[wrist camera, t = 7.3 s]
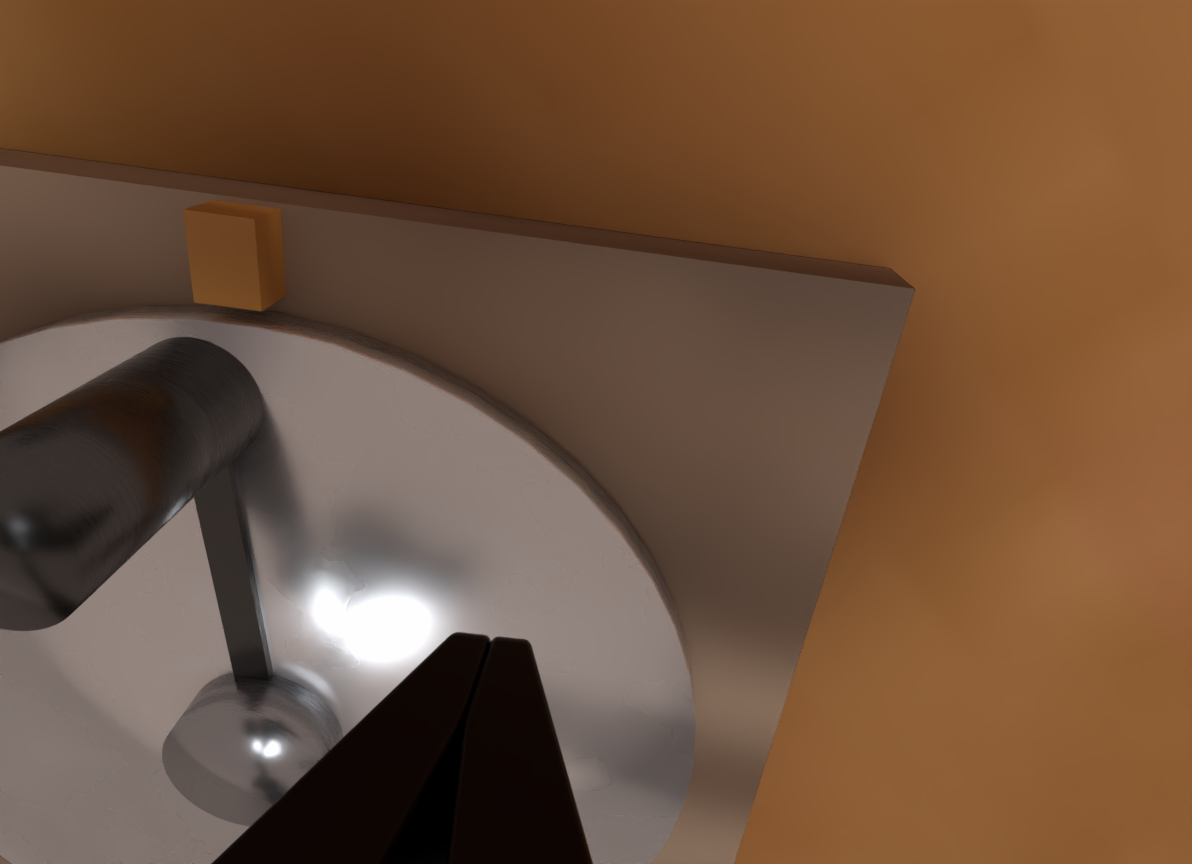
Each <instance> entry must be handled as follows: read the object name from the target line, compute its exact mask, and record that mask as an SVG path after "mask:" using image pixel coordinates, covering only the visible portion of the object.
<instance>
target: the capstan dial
mask: <svg viewBox="0 0 1192 864" xmlns="http://www.w3.org/2000/svg"><path fill="white" fill-rule="evenodd" d="M455 632H465V633H474V634H483V635H487V636H488V637H489V638H490V639H491V641H492V640H493V638H495V637H497V636H502V637H511V638H520V639H526V640H528V641H529V642H530V643H531V645H532V649H533V652H534V656H535V659H536V663H537V666H538V670H539V674H540V677H541V681H542V684H543V688H544V691H545V695H546V698H547V702H548V705H549V709H550V712H551V716H552V720H553V723H554V727H555V730H556V734H557V737H558V741H559V744H560V748H561V751H562V755H563V759H564V762H565V766H566V769H567V773H568V776H569V780H570V783H571V787H572V790H573V794H574V798H575V801H576V805H577V808H578V812H579V815H580V819H581V822H582V826H583V829H584V833H585V837H586V840H587V844H588V847H589V851H590V854H591V858H592V861H593V864H651V863H652V862H653V860H654V859H655V857H656V856H657V854H658V853H659V851H660V850H661V848H662V847H663V845H664V844H665V842H666V841H667V840H668V838H669V836H670V834H671V832H672V830H673V827H674V825H675V823H676V821H677V818H678V816H679V814H680V812H681V809H682V807H683V805H684V803H685V799H686V794H687V790H688V786H689V782H690V778H691V773H692V769H693V765H694V749H695V729H696V718H695V705H694V692H693V683H692V676H691V668H690V660H689V652H688V646H687V642H686V639H685V636H684V632H683V629H682V626H681V623H680V619H679V616H678V613H677V609H676V606H675V603H674V600H673V598H672V596H671V594H670V592H669V590H668V588H667V586H666V584H665V582H664V580H663V578H662V576H661V573H660V571H659V569H658V567H657V565H656V563H655V561H654V559H653V557H652V555H651V554H650V552H649V551H648V549H647V548H646V546H645V545H644V543H643V542H642V540H641V539H640V537H639V536H638V535H637V533H636V532H635V530H634V529H633V527H632V526H631V524H630V523H629V521H628V520H627V518H626V517H625V515H624V514H623V512H622V511H621V510H620V508H619V507H618V506H617V505H616V504H615V503H614V502H613V501H612V500H611V498H610V497H609V496H608V495H607V494H606V493H605V492H604V491H603V490H602V488H601V487H600V486H599V485H598V484H597V483H596V482H595V481H594V480H593V478H592V477H591V476H590V475H589V474H588V473H587V472H586V471H585V469H584V468H583V467H582V466H581V465H580V464H579V463H577V462H576V461H575V460H574V459H573V458H572V457H570V456H569V455H568V454H567V453H566V452H565V451H564V450H562V449H561V448H560V447H559V446H558V445H557V444H555V443H554V442H553V441H552V440H551V439H550V438H549V437H547V436H546V435H545V434H544V433H543V432H542V431H540V430H539V429H538V428H537V427H536V426H535V425H533V424H532V423H531V422H529V421H528V420H526V419H525V418H523V417H522V416H520V415H519V414H517V413H516V412H514V411H513V410H511V409H510V408H508V407H507V406H505V405H504V404H502V403H501V402H499V401H498V400H496V399H495V398H494V397H492V396H491V395H489V394H488V393H486V392H485V391H483V390H482V389H480V388H479V387H477V386H475V385H473V384H471V383H469V382H467V381H465V380H463V379H462V378H460V377H458V376H456V375H454V374H452V373H450V372H448V371H446V370H444V369H442V368H440V367H438V366H436V365H434V364H432V363H431V362H429V361H427V360H425V359H423V358H421V357H419V356H417V355H415V354H412V353H409V352H407V351H404V350H401V349H399V348H396V347H393V346H391V345H388V344H385V343H383V342H380V341H378V340H375V339H372V338H370V337H367V336H364V335H362V334H359V333H356V332H354V331H351V330H348V329H344V328H340V327H336V326H332V325H327V324H323V323H319V322H315V321H311V320H307V319H303V318H299V317H295V316H291V315H287V314H283V313H277V312H269V311H255V310H247V309H240V308H232V307H225V306H218V305H142V306H135V307H128V308H121V309H114V310H107V311H100V312H93V313H86V314H82V315H79V316H75V317H72V318H69V319H65V320H62V321H59V322H55V323H52V324H49V325H46V326H42V327H39V328H36V329H32V330H29V331H26V332H24V333H22V334H19V335H17V336H15V337H12V338H10V339H8V340H5V341H3V342H1V343H0V855H1V856H2V857H4V858H5V859H6V860H8V861H9V862H10V863H12V864H211V863H212V862H213V861H214V860H216V859H217V858H218V857H219V856H220V855H221V854H222V853H223V852H224V851H225V850H226V849H227V848H228V847H229V846H230V845H231V844H232V843H233V842H234V841H235V840H236V839H237V838H238V837H240V836H241V835H242V834H243V833H244V832H245V831H246V830H247V829H248V828H249V827H250V826H251V825H252V824H253V823H254V822H255V821H256V820H257V819H258V818H259V817H260V816H261V815H263V814H264V813H265V812H266V811H267V810H268V809H269V808H270V807H271V806H272V805H273V804H274V803H275V802H276V801H277V800H278V799H279V798H280V797H281V796H282V795H283V794H284V793H286V792H287V791H288V790H289V789H290V788H291V787H292V786H293V785H294V784H295V783H296V782H297V781H298V780H299V779H300V778H301V777H302V776H303V775H304V774H305V773H306V772H307V771H309V770H310V769H311V768H312V767H313V766H314V765H315V764H316V763H317V762H318V761H319V760H320V759H321V758H322V757H323V756H324V755H325V754H326V753H327V752H328V751H329V750H330V749H331V748H333V747H334V746H335V745H336V744H337V743H338V742H339V741H340V740H341V739H342V738H343V737H344V736H345V735H346V734H347V733H348V732H349V731H350V730H351V729H352V728H353V727H354V726H356V725H357V724H358V723H359V722H360V721H361V720H362V719H363V718H364V717H365V716H366V715H367V714H368V713H369V712H370V711H371V710H372V709H373V708H374V707H375V706H376V705H377V704H379V703H380V702H381V701H382V700H383V699H384V698H385V697H386V696H387V695H388V694H389V693H390V692H391V691H392V690H393V689H394V688H395V687H396V686H397V685H398V684H399V683H400V682H402V681H403V680H404V679H405V678H406V677H407V676H408V675H409V674H410V673H411V672H412V671H413V670H414V669H415V668H416V667H417V666H418V665H419V664H420V663H421V662H422V661H423V660H424V659H426V658H427V657H428V656H429V655H430V654H431V653H432V652H433V651H434V650H435V649H436V648H437V647H438V646H439V645H440V644H441V643H442V642H443V641H444V640H445V639H446V638H447V637H449V636H450V635H451V634H453V633H455Z"/></svg>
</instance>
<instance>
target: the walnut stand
mask: <svg viewBox="0 0 1192 864" xmlns="http://www.w3.org/2000/svg"><path fill="white" fill-rule="evenodd" d="M914 292H915V288H914V287H912V286H911V285H910V284H909V283H907V282H906V281H905V280H904V279H903V278H901V277H900V276H899V275H898V274H897V273H895V272H894V271H893V270H892V269H890V268H882V267H875V266H867V265H860V264H853V263H845V262H838V261H830V260H823V259H816V258H808V257H801V256H793V255H786V254H778V253H771V252H764V251H756V250H749V249H741V248H734V247H727V246H719V245H712V244H704V243H697V242H690V241H682V240H675V239H667V238H660V237H653V236H645V235H638V234H630V233H623V232H615V231H608V230H601V229H593V228H586V227H578V226H571V225H564V224H556V223H549V222H541V221H534V220H527V219H519V218H512V217H504V216H497V215H490V214H482V213H475V212H467V211H460V210H453V209H445V208H438V207H430V206H423V205H415V204H408V203H401V202H393V201H386V200H378V199H371V198H364V197H356V196H349V195H341V194H334V193H327V192H319V191H312V190H304V189H297V188H290V187H282V186H275V185H267V184H260V183H252V182H245V181H238V180H230V179H223V178H215V177H208V176H201V175H193V174H186V173H178V172H171V171H164V170H156V169H149V168H141V167H134V166H127V165H119V164H112V163H104V162H97V161H89V160H82V159H75V158H67V157H60V156H52V155H45V154H38V153H30V152H23V151H15V150H8V149H1V148H0V343H1V342H3V341H5V340H8V339H10V338H12V337H15V336H17V335H19V334H22V333H24V332H26V331H29V330H32V329H36V328H39V327H42V326H46V325H49V324H52V323H55V322H59V321H62V320H65V319H69V318H72V317H75V316H79V315H82V314H86V313H93V312H100V311H107V310H114V309H121V308H128V307H135V306H142V305H218V306H225V307H232V308H240V309H247V310H255V311H269V312H277V313H283V314H287V315H291V316H295V317H299V318H303V319H307V320H311V321H315V322H319V323H323V324H327V325H332V326H336V327H340V328H344V329H348V330H351V331H354V332H356V333H359V334H362V335H364V336H367V337H370V338H372V339H375V340H378V341H380V342H383V343H385V344H388V345H391V346H393V347H396V348H399V349H401V350H404V351H407V352H409V353H412V354H415V355H417V356H419V357H421V358H423V359H425V360H427V361H429V362H431V363H432V364H434V365H436V366H438V367H440V368H442V369H444V370H446V371H448V372H450V373H452V374H454V375H456V376H458V377H460V378H462V379H463V380H465V381H467V382H469V383H471V384H473V385H475V386H477V387H479V388H480V389H482V390H483V391H485V392H486V393H488V394H489V395H491V396H492V397H494V398H495V399H496V400H498V401H499V402H501V403H502V404H504V405H505V406H507V407H508V408H510V409H511V410H513V411H514V412H516V413H517V414H519V415H520V416H522V417H523V418H525V419H526V420H528V421H529V422H531V423H532V424H533V425H535V426H536V427H537V428H538V429H539V430H540V431H542V432H543V433H544V434H545V435H546V436H547V437H549V438H550V439H551V440H552V441H553V442H554V443H555V444H557V445H558V446H559V447H560V448H561V449H562V450H564V451H565V452H566V453H567V454H568V455H569V456H570V457H572V458H573V459H574V460H575V461H576V462H577V463H579V464H580V465H581V466H582V467H583V468H584V469H585V471H586V472H587V473H588V474H589V475H590V476H591V477H592V478H593V480H594V481H595V482H596V483H597V484H598V485H599V486H600V487H601V488H602V490H603V491H604V492H605V493H606V494H607V495H608V496H609V497H610V498H611V500H612V501H613V502H614V503H615V504H616V505H617V506H618V507H619V508H620V510H621V511H622V512H623V514H624V515H625V517H626V518H627V520H628V521H629V523H630V524H631V526H632V527H633V529H634V530H635V532H636V533H637V535H638V536H639V537H640V539H641V540H642V542H643V543H644V545H645V546H646V548H647V549H648V551H649V552H650V554H651V555H652V557H653V559H654V561H655V563H656V565H657V567H658V569H659V571H660V573H661V576H662V578H663V580H664V582H665V584H666V586H667V588H668V590H669V592H670V594H671V596H672V598H673V600H674V603H675V606H676V609H677V613H678V616H679V619H680V623H681V626H682V629H683V632H684V636H685V639H686V642H687V646H688V652H689V660H690V668H691V676H692V683H693V692H694V705H695V718H696V729H695V749H694V765H693V769H692V773H691V778H690V782H689V786H688V790H687V794H686V799H685V803H684V805H683V807H682V809H681V812H680V814H679V816H678V818H677V821H676V823H675V825H674V827H673V830H672V832H671V834H670V836H669V838H668V840H667V841H666V842H665V844H664V845H663V847H662V848H661V850H660V851H659V853H658V854H657V856H656V857H655V859H654V860H653V862H652V863H651V864H734V862H735V858H736V855H737V852H738V849H739V846H740V843H741V839H742V836H743V833H744V830H745V827H746V824H747V820H748V817H749V814H750V811H751V808H752V805H753V801H754V798H755V795H756V792H757V789H758V786H759V782H760V779H761V776H762V773H763V770H764V767H765V763H766V760H767V757H768V754H769V751H770V748H771V744H772V741H773V738H774V735H775V732H776V729H777V725H778V722H779V719H780V716H781V713H782V710H783V706H784V703H785V700H786V697H787V694H788V691H789V687H790V684H791V681H792V678H793V675H794V672H795V668H796V665H797V662H798V659H799V656H800V653H801V649H802V646H803V643H804V640H805V637H806V634H807V630H808V627H809V624H810V621H811V618H812V615H813V611H814V608H815V605H816V602H817V599H818V596H819V592H820V589H821V586H822V583H823V580H824V577H825V573H826V570H827V567H828V564H829V561H830V558H831V554H832V551H833V548H834V545H835V542H836V539H837V535H838V532H839V529H840V526H841V523H842V520H843V516H844V513H845V510H846V507H847V504H848V501H849V497H850V494H851V491H852V488H853V485H854V482H855V478H856V475H857V472H858V469H859V466H860V463H861V459H862V456H863V453H864V450H865V447H866V444H867V440H868V437H869V434H870V431H871V428H872V425H873V421H874V418H875V415H876V412H877V409H878V406H879V402H880V399H881V396H882V393H883V390H884V387H885V383H886V380H887V377H888V374H889V371H890V368H891V364H892V361H893V358H894V355H895V352H896V349H897V345H898V342H899V339H900V336H901V333H902V330H903V326H904V323H905V320H906V317H907V314H908V311H909V307H910V304H911V301H912V298H913V295H914ZM0 864H12V863H10V862H9V861H8V860H6V859H5V858H4V857H2V856H1V855H0Z"/></svg>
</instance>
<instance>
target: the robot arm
mask: <svg viewBox="0 0 1192 864" xmlns="http://www.w3.org/2000/svg"><path fill="white" fill-rule="evenodd" d="M211 864H593V861H592V858H591V854H590V851H589V847H588V844H587V840H586V837H585V833H584V829H583V826H582V822H581V819H580V815H579V812H578V808H577V805H576V801H575V798H574V794H573V790H572V787H571V783H570V780H569V776H568V773H567V769H566V766H565V762H564V759H563V755H562V751H561V748H560V744H559V741H558V737H557V734H556V730H555V727H554V723H553V720H552V716H551V712H550V709H549V705H548V702H547V698H546V695H545V691H544V688H543V684H542V681H541V677H540V674H539V670H538V666H537V663H536V659H535V656H534V652H533V649H532V645H531V643H530V642H529V641H528V640H526V639H520V638H511V637H502V636H497V637H495V638H493V640H492V641H491V639H490V638H489V637H488V636H487V635H483V634H474V633H465V632H455V633H453V634H451V635H450V636H449V637H447V638H446V639H445V640H444V641H443V642H442V643H441V644H440V645H439V646H438V647H437V648H436V649H435V650H434V651H433V652H432V653H431V654H430V655H429V656H428V657H427V658H426V659H424V660H423V661H422V662H421V663H420V664H419V665H418V666H417V667H416V668H415V669H414V670H413V671H412V672H411V673H410V674H409V675H408V676H407V677H406V678H405V679H404V680H403V681H402V682H400V683H399V684H398V685H397V686H396V687H395V688H394V689H393V690H392V691H391V692H390V693H389V694H388V695H387V696H386V697H385V698H384V699H383V700H382V701H381V702H380V703H379V704H377V705H376V706H375V707H374V708H373V709H372V710H371V711H370V712H369V713H368V714H367V715H366V716H365V717H364V718H363V719H362V720H361V721H360V722H359V723H358V724H357V725H356V726H354V727H353V728H352V729H351V730H350V731H349V732H348V733H347V734H346V735H345V736H344V737H343V738H342V739H341V740H340V741H339V742H338V743H337V744H336V745H335V746H334V747H333V748H331V749H330V750H329V751H328V752H327V753H326V754H325V755H324V756H323V757H322V758H321V759H320V760H319V761H318V762H317V763H316V764H315V765H314V766H313V767H312V768H311V769H310V770H309V771H307V772H306V773H305V774H304V775H303V776H302V777H301V778H300V779H299V780H298V781H297V782H296V783H295V784H294V785H293V786H292V787H291V788H290V789H289V790H288V791H287V792H286V793H284V794H283V795H282V796H281V797H280V798H279V799H278V800H277V801H276V802H275V803H274V804H273V805H272V806H271V807H270V808H269V809H268V810H267V811H266V812H265V813H264V814H263V815H261V816H260V817H259V818H258V819H257V820H256V821H255V822H254V823H253V824H252V825H251V826H250V827H249V828H248V829H247V830H246V831H245V832H244V833H243V834H242V835H241V836H240V837H238V838H237V839H236V840H235V841H234V842H233V843H232V844H231V845H230V846H229V847H228V848H227V849H226V850H225V851H224V852H223V853H222V854H221V855H220V856H219V857H218V858H217V859H216V860H214V861H213V862H212V863H211Z"/></svg>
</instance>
